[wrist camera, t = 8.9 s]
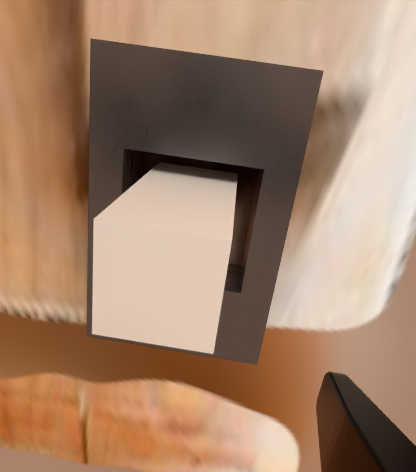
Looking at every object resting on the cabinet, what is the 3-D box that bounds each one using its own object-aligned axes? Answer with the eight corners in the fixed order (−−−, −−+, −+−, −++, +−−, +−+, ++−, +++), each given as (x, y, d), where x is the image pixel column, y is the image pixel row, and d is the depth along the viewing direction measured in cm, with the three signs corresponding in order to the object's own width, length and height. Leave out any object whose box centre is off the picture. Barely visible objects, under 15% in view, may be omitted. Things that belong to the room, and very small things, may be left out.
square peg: (226, 245, 20) (213, 354, 12) (154, 234, 21) (91, 334, 12) (237, 173, 19) (232, 240, 11) (159, 162, 19) (93, 218, 11)
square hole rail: (255, 330, 22) (257, 364, 19) (106, 305, 23) (86, 336, 20) (310, 73, 17) (323, 71, 14) (115, 46, 17) (90, 38, 15)
